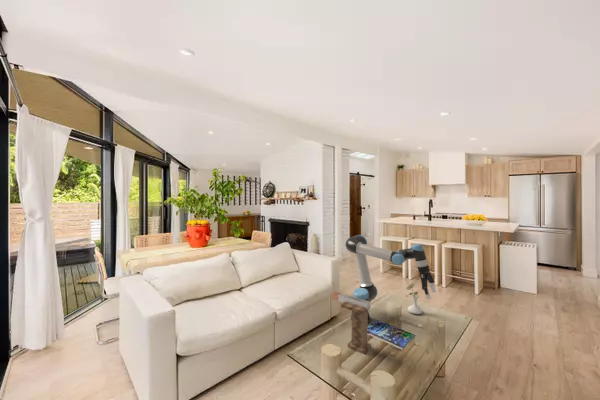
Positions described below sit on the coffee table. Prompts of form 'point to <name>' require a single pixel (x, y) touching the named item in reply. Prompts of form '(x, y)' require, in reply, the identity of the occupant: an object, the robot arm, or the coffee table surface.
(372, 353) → the coffee table surface
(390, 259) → the robot arm
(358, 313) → the walnut stand
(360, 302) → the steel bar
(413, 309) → the flower in vase
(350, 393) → the coffee table surface
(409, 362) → the coffee table surface
